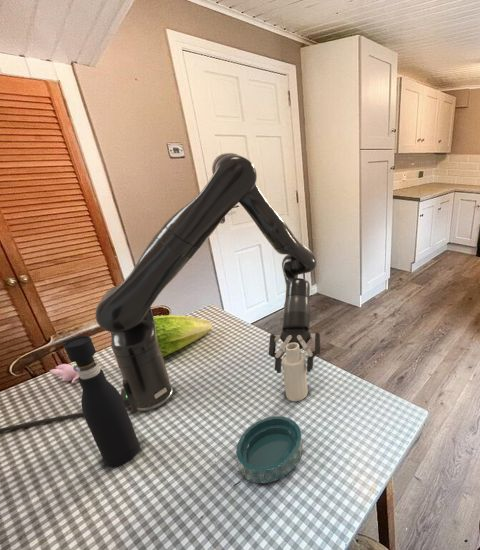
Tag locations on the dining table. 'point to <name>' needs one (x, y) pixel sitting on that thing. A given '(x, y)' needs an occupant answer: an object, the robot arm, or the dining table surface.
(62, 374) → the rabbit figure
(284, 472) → the dish
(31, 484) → the dining table surface
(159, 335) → the lettuce
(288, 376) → the white bottle
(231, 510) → the dining table surface
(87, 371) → the black insulated flask
